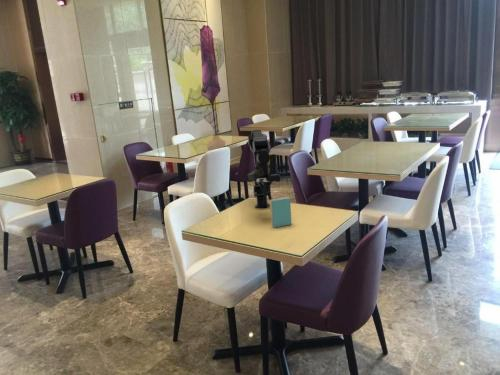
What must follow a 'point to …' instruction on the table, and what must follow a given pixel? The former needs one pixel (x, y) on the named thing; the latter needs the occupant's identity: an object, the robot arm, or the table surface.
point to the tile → (280, 212)
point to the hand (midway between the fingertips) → (265, 195)
